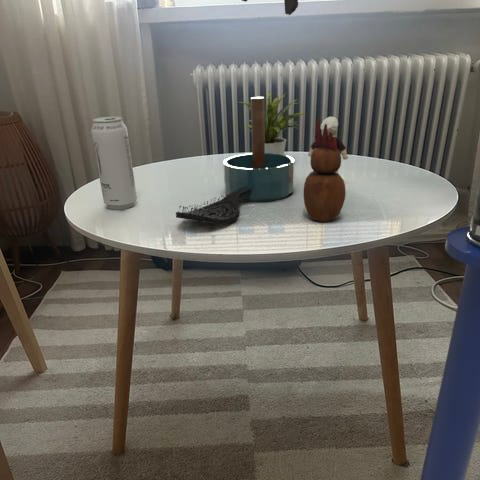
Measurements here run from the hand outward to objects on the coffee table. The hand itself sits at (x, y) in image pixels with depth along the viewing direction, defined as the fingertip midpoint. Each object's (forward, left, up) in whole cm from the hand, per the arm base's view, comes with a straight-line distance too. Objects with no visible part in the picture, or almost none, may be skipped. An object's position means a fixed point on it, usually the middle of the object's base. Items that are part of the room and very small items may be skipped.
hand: (269, 5), depth 78 cm
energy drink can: (+23, +16, -31) cm, 41 cm away
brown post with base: (+3, -2, -30) cm, 30 cm away
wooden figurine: (-14, +9, -31) cm, 35 cm away
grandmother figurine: (-7, -11, -31) cm, 33 cm away
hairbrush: (+2, +12, -30) cm, 33 cm away
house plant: (+9, -17, -31) cm, 36 cm away
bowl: (+3, -1, -30) cm, 30 cm away
